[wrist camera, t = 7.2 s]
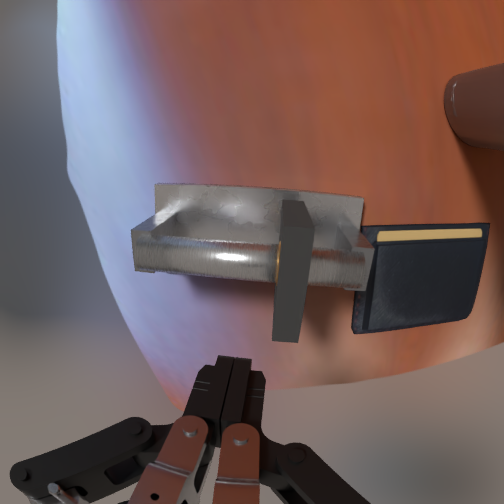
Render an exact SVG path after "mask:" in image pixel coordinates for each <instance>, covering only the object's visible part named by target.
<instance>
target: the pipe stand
mask: <svg viewBox="0 0 504 504" xmlns="http://www.w3.org/2000/svg"><path fill="white" fill-rule="evenodd" d="M282 199H286V200H297V201H304V203H305V205H306V207H307V210H308V212H309V215H310V217H311V220H312V222H313V225H314V227H315V234H314V242H313V249H312V257H311V264H310V271H309V278H308V285H310V286H324V287H340V288H344V290H355V291H365V290H366V286H367V282H368V277H369V273H370V268H371V264H372V259H373V254H374V247H373V246H372V245H371V244H370V243H369V241H368V240H367V239H366V238H365V237H364V235H363V234H362V233H361V232H360V231H359V229H360V223H361V216H362V209H363V202H364V198H363V197H361V196H354V195H345V194H337V193H327V192H318V191H308V190H297V189H285V188H272V187H258V186H241V185H221V184H194V183H157V184H155V215H153V216H152V217H150V218H148V219H147V220H145V221H144V222H142V223H141V224H139V225H138V226H136V227H134V228H133V229H131V238H132V248H133V258H134V267H135V271H140V272H148V273H155V271H157V272H166V273H175V274H185V275H194V276H204V277H215V278H225V279H236V280H247V281H259V282H271V283H276V286H277V280H278V270H279V259H280V248H281V241H280V242H279V235H280V222H281V210H282Z"/></svg>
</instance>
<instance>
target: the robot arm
mask: <svg viewBox="0 0 504 504" xmlns="http://www.w3.org/2000/svg"><path fill="white" fill-rule="evenodd" d="M444 106H445V111H446V115H447V118H448V121H449V123H450V125H451V127H452V129H453V130H454V132H455V133H456V134H457V136H458V137H459V138H460V139H461V140H462V141H463V142H465V143H467V144H468V145H470V146H473V147H480V148H488V149H494V150H501V151H504V63H502V64H497V65H493V66H489V67H485V68H481V69H477V70H473V71H469V72H465V73H462V74H458V75H456V76H454V77H453V78H451V79H450V80H449V82H448V84H447V86H446V89H445V93H444ZM251 363H252V359H246V358H238V357H236V358H235V357H229V356H221V355H218V358H217V361H216V364H215V366H212V365H205V366H204V367H203V368H202V369H201V370H200V371H199V372H198V374H197V377H196V380H195V383H194V386H193V389H192V391H191V394H190V397H189V399H188V402H187V405H186V408H185V411H184V414H183V416H182V417H180V418H179V419H177V420H176V421H175V422H174V423H172V424H168V425H150V423H149V422H148V421H146V420H145V419H143V418H140V417H131V418H128V419H125V420H123V421H121V422H119V423H117V424H115V425H112V426H110V427H108V428H106V429H104V430H101V431H100V432H97V433H95V434H92V435H90V436H88V437H85V438H83V439H80V440H78V441H75V442H73V443H71V444H68V445H66V446H63V447H60V448H58V449H55V450H52V451H50V452H47V453H44V454H42V455H39V456H36V457H33V458H30V459H27V460H24V461H21V462H18V463H16V464H14V465H13V466H12V468H11V470H10V479H11V482H12V483H13V485H14V486H15V487H16V488H17V489H19V490H20V491H21V492H23V493H24V494H25V495H26V496H27V497H28V499H29V501H30V503H31V504H89V503H92V502H94V501H97V500H99V499H102V498H104V497H106V496H108V495H111V494H113V493H115V492H117V491H119V490H122V489H124V488H126V487H128V486H130V485H132V484H134V483H136V482H138V481H139V482H138V484H137V486H136V488H135V490H134V492H133V494H132V496H131V498H130V500H128V501H124V502H121V503H118V504H199V502H200V495H201V492H202V489H203V486H204V483H205V480H206V478H207V474H208V472H209V469H210V466H211V463H212V457H213V453H214V449H215V447H219V448H221V450H220V458H219V467H218V476H217V479H216V481H215V487H214V495H213V503H212V504H259V494H260V486H259V485H260V484H259V483H261V484H263V485H266V486H269V487H271V489H272V490H273V492H274V493H275V494H276V495H277V496H278V497H279V498H280V500H281V501H282V502H283V503H284V504H370V503H369V502H368V501H367V500H366V499H365V498H363V497H362V496H361V495H360V494H359V493H358V492H357V491H355V490H354V489H353V488H352V487H351V486H350V485H349V484H347V483H346V482H345V481H344V480H343V479H342V478H341V477H340V476H339V475H338V474H337V473H335V471H333V470H332V469H331V468H330V467H329V466H328V465H327V464H326V463H325V462H324V461H323V460H322V459H321V458H320V457H319V456H318V455H317V454H316V453H315V452H314V451H313V450H312V449H311V448H310V447H308V446H307V445H305V444H302V443H289V444H287V445H282V444H279V443H276V442H273V441H271V440H269V439H268V438H267V437H266V436H265V435H264V434H263V432H262V429H261V420H262V410H263V402H264V392H265V383H266V379H265V377H264V375H263V373H262V371H253V370H251Z"/></svg>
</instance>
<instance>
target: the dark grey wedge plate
mask: <svg viewBox="0 0 504 504" xmlns="http://www.w3.org/2000/svg"><path fill="white" fill-rule="evenodd" d="M314 234H315V227H314V225H313V222H312V220H311V217H310V215H309V212H308V210H307V207H306V205H305V203H304V201H297V200H286V199H282V210H281V222H280V235H279V242H280V241H281V248H280V259H279V270H278V280H277V286H276V283H275V293H274V313H273V331H272V341H279V342H294V343H298V340H299V334H300V329H301V323H302V317H303V311H304V305H305V298H306V292H307V285H308V278H309V271H310V264H311V257H312V249H313V242H314Z"/></svg>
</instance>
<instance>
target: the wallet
mask: <svg viewBox="0 0 504 504" xmlns="http://www.w3.org/2000/svg"><path fill="white" fill-rule="evenodd" d="M489 228H490V223H463V224H407V225H371V226H361V233H362V234H363V235H364V237H365V238H366V239H367V240H368V241H369V243H370V244H371V245H372V246H373V247H374V254H373V259H372V264H371V268H370V273H369V277H368V282H367V286H366V290H365V291H355V297H354V305H353V314H352V324H351V329H352V331H353V333H354V334H365V333H375V332H384V331H391V330H399V329H405V328H412V327H419V326H426V325H433V324H440V323H446V322H453V321H459V320H462V319H466V318H467V317H468V316H469V314H470V313H471V311H472V308H473V305H474V302H475V299H476V295H477V291H478V286H479V282H480V278H481V273H482V268H483V264H484V259H485V254H486V249H487V242H488V235H489Z"/></svg>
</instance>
